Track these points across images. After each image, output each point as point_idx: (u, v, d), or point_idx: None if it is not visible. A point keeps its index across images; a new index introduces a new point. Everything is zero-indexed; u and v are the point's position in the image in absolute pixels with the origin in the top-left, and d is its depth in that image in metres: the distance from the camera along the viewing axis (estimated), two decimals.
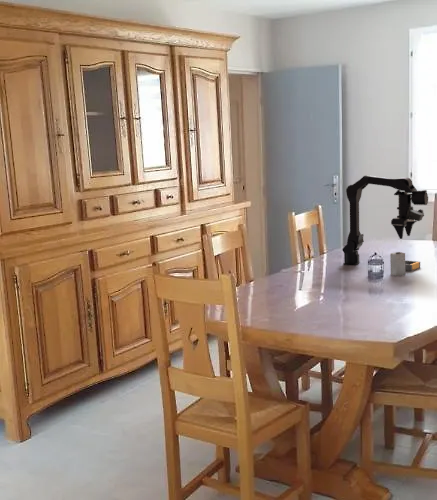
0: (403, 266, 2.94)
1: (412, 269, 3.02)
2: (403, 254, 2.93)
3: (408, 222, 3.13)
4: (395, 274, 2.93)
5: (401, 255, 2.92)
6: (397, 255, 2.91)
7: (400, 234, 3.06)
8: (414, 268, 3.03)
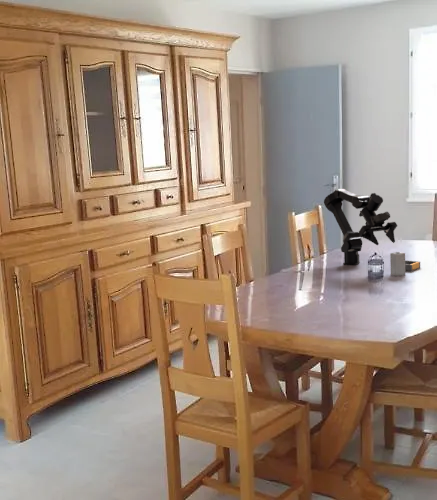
0: (403, 266, 2.94)
1: (412, 269, 3.02)
2: (403, 254, 2.93)
3: (388, 231, 3.06)
4: (395, 274, 2.93)
5: (401, 255, 2.92)
6: (397, 255, 2.91)
7: (374, 240, 2.99)
8: (414, 268, 3.03)
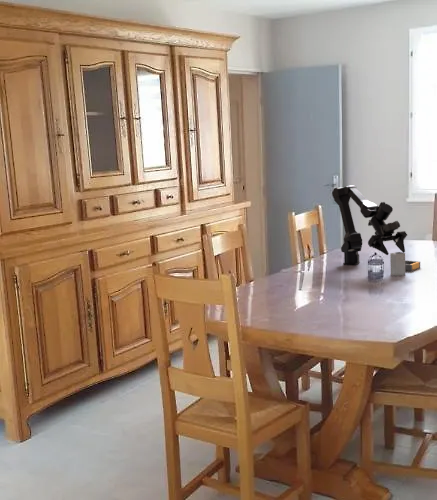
0: (403, 266, 2.94)
1: (412, 269, 3.02)
2: (403, 254, 2.93)
3: (398, 241, 3.00)
4: (395, 274, 2.93)
5: (401, 255, 2.92)
6: (397, 255, 2.91)
7: (384, 250, 2.94)
8: (414, 268, 3.03)
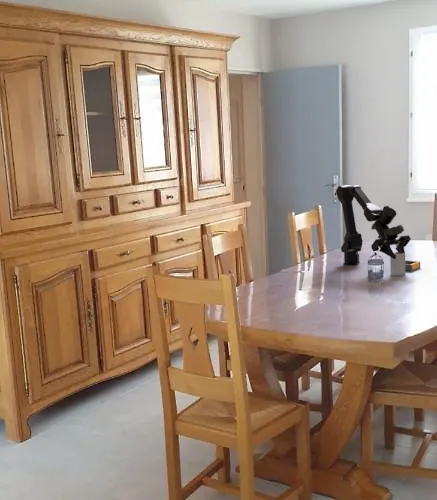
0: (403, 266, 2.94)
1: (412, 269, 3.02)
2: (403, 254, 2.93)
3: (398, 245, 2.98)
4: (395, 274, 2.93)
5: (401, 255, 2.92)
6: (397, 255, 2.91)
7: (391, 254, 2.92)
8: (414, 268, 3.03)
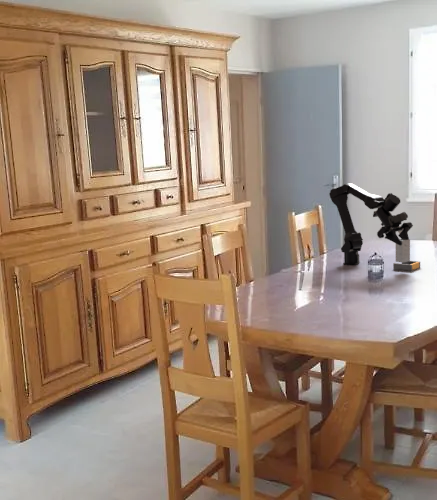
0: (408, 252, 2.98)
1: (412, 269, 3.02)
2: (408, 240, 2.97)
3: (401, 232, 3.02)
4: (401, 260, 2.97)
5: (406, 241, 2.96)
6: (403, 241, 2.95)
7: (397, 240, 2.96)
8: (414, 268, 3.03)
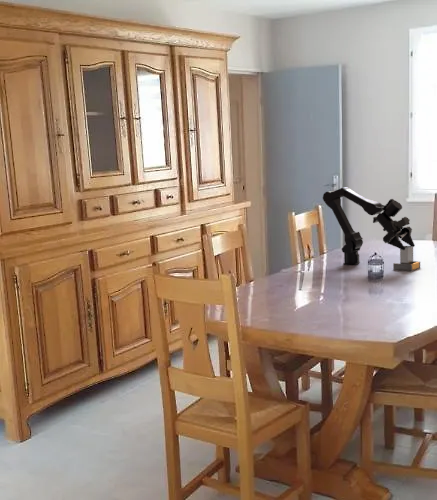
0: (412, 259, 3.06)
1: (412, 269, 3.02)
2: (412, 247, 3.05)
3: (405, 236, 3.11)
4: None
5: (411, 248, 3.04)
6: (408, 248, 3.03)
7: (400, 245, 3.01)
8: (414, 268, 3.03)
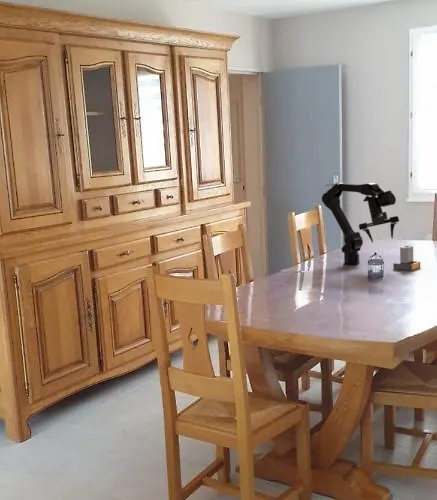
0: (412, 259, 3.06)
1: (412, 269, 3.02)
2: (412, 247, 3.05)
3: (390, 225, 3.11)
4: None
5: (411, 248, 3.04)
6: (408, 248, 3.03)
7: (370, 238, 3.13)
8: (414, 268, 3.03)
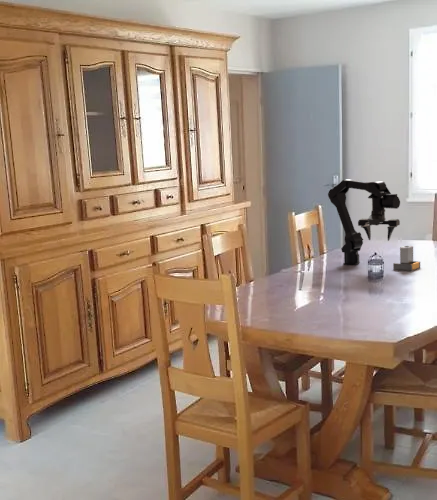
0: (412, 259, 3.06)
1: (412, 269, 3.02)
2: (412, 247, 3.05)
3: None
4: None
5: (411, 248, 3.04)
6: (408, 248, 3.03)
7: None
8: (414, 268, 3.03)
